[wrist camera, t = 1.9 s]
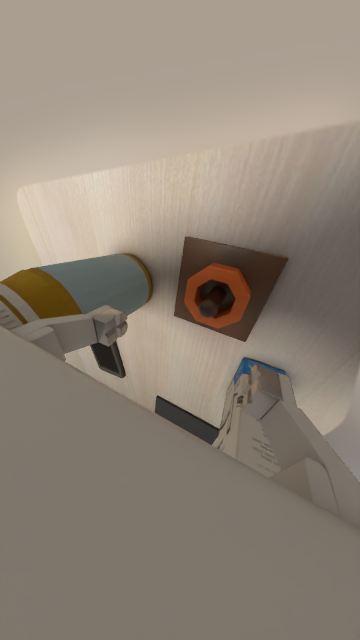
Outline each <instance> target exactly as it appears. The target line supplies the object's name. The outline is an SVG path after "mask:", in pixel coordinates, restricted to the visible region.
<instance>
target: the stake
mask: <svg viewBox="0 0 360 640" xmlns="http://www.w3.org/2000/svg"><path fill="white" fill-rule="evenodd" d="M287 261H288V258H287V257H285V256H280V255H275V254H270V253H265V252H261V251H256V250H251V249H246V248H241V247H236V246H232V245H227V244H222V243H217V242H212V241H207V240H203V239H198V238H193V237H185V241H184V248H183V255H182V262H181V269H180V276H179V283H178V291H177V298H176V305H175V312H174V316H176V317H179V318H182V319H184V320H187V321H190V322H192V323H195V324H198V325H200V326H203V327H206V328H209V329H211V330H214V331H217V332H219V333H222V334H225V335H227V336H230V337H233V338H236V339H238V340H241V341H244V342H246V340H247V338H248V336H249V334H250V332H251V330H252V328H253V326H254V324H255V323H256V321H257V319H258V317H259V315H260V313H261V311H262V309H263V307H264V305H265V303H266V301H267V299H268V298H269V296H270V294H271V292H272V290H273V288H274V286H275V284H276V282H277V280H278V278H279V276H280V274H281V272H282V271H283V269H284V267H285V265H286V263H287ZM212 263H218V264H222V265H226V266H230V267H234V268H238V269H240V271H241V273H242V275H243V277H244V279H245V281H246V283H247V284H248V286H249V288H250V290H251V295H250V300H249V302H248V304H247V307H246V309H245V311H244V313H243V316H242V318H241V320H240V321H238V322H235V323H233V324H230V325H227V326H224V327H221V328H218V329H217V328H214V327H212V326H209V325H206V324H203V323H201V322H198V321H196V320H195V319H194V317H193V316H192V314H191V313H190V311H189V309H188V308H187V306H186V305H185V303H184V298H185V293H186V287H187V281H188V279H189V278H191V277H192V276H194V275H195V274H197V273H198V272H200V271H201V270H203V269H204V268H206V267H207V266H209V265H211V264H212ZM200 297H201V299H202V300H203V301H202V302H201V303H200V305H199V312H200V314H201V315H202V316H203V317H205V318H211V317H214V316H215V315H216V314H217V312H218V311H221V310H224V309H226V308H229V307H231V306H233V303H234V301H235V297H234V295H233V293H232V291H231V289H230V287H229V286H228V284H226V283H222V282H219V281H215V280H212V279H211V280H209V281H208V282H206V283H204V284H202V287H201V292H200Z"/></svg>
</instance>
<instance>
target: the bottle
mask: <svg viewBox="0 0 360 640" xmlns="http://www.w3.org/2000/svg"><path fill="white" fill-rule="evenodd" d="M151 289H152V288H151V281H150V277H149V275H148V273H147V271H146V269H145V267H144V266H143V265H142V264H141V262H140V261H138V260H137V259H136V258H135V257H133V256H131V255H128V254H114V255H108V256H102V257H96V258H90V259H84V260H78V261H72V262H66V263H60V264H54V265H48V266H42V267H36V268H31V269H27V270H21V271H19V272H17V273H16V274H14V275H12V276H10V277H8V278H6V279H5V280H3V281H1V282H0V325H1V326H3V327H5V328H7V329H8V330H12V329H15V328H17V327H20V326H22V325H25V324H27V323H30V322H32V321H35V320H39V319H47V318H55V317H63V316H71V315H79V314H84V315H85V314H87V313H89V312H91V311H94V310H96V309H98V308H100V307H102V306H104V305H108V306H110V307H112V308H115V309H118V310H120V311H122V312H125V313H126V314H127V316H128V315H129V314H131V313H132V312H134V311H135V310H137V309H139V308H140V307H142V306H143V305H144V304H145V303H147V302H148V300H149V298H150V296H151Z"/></svg>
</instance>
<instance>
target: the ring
mask: <svg viewBox="0 0 360 640" xmlns="http://www.w3.org/2000/svg"><path fill="white" fill-rule="evenodd" d="M211 279H212V280H215V281H219V282H222V283H226V284H228V286H229V287H230V289H231V291H232V293H233V295H234V297H235V301H234V303H233V306H231V307H229V308H226V309H224V310H221V311H218V312H217V314H216V315H215V316H214V317H211V318H205V317H203V316H202V315H201V314H200V312H199V305H200V303H201V302H202V301H203V300H202V299H201V297H200V292H201V287H202V284H204V283H206V282H208V281H209V280H211ZM250 295H251V290H250V288H249V286H248V284H247V283H246V281H245V279H244V277H243V275H242V273H241V271H240V269H238V268H234V267H230V266H226V265H222V264H218V263H212V264H211V265H209V266H207V267H206V268H204V269H203V270H201V271H200V272H198V273H197V274H195V275H194V276H192V277H191V278H189V279H188V281H187V287H186V293H185V298H184V303H185V305H186V306H187V308H188V309H189V311H190V313H191V314H192V316H193V317H194V319H195V320H196V321H198V322H201V323H203V324H206V325H209V326H212V327H214V328H217V329H218V328H221V327H224V326H227V325H230V324H233V323H235V322H238V321H240V320H241V318H242V316H243V313H244V311H245V309H246V307H247V304H248V302H249V300H250Z"/></svg>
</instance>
